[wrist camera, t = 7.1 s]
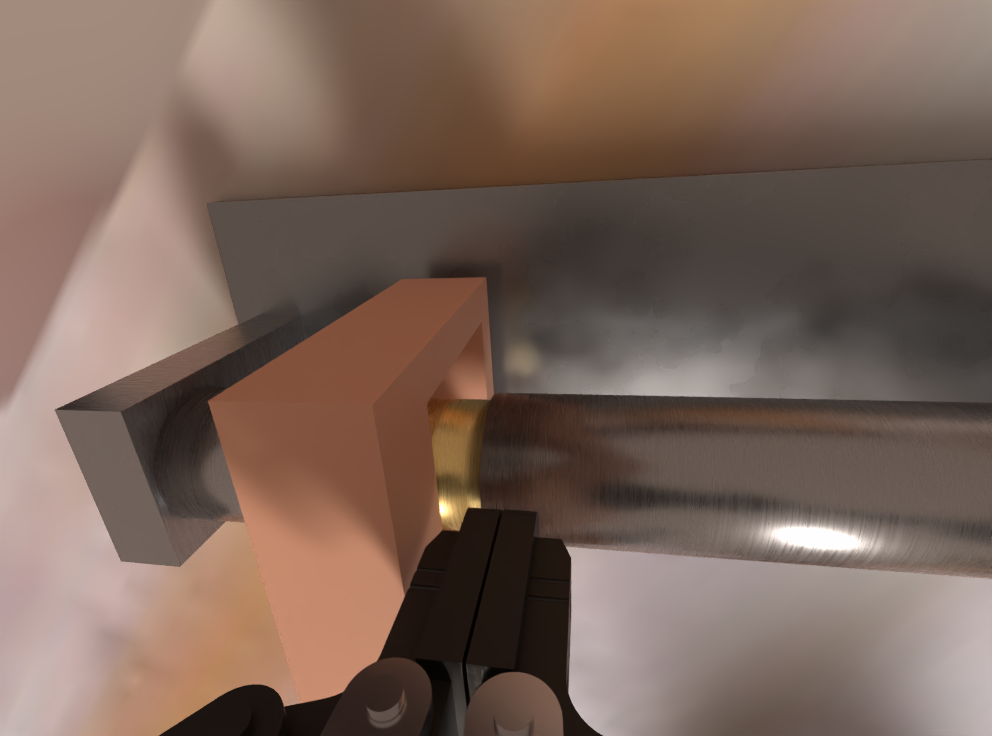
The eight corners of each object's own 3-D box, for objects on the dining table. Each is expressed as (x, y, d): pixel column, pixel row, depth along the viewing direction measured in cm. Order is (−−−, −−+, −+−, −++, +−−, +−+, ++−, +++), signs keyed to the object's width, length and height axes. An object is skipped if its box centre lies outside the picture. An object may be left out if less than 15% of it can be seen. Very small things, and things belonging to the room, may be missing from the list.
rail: (1225, 145, 14) (2195, 121, 6) (1046, 542, 19) (1403, 839, 11) (217, 201, 20) (-60, 231, 11) (292, 494, 25) (141, 663, 16)
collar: (486, 277, 17) (372, 405, 8) (499, 484, 20) (428, 742, 11) (402, 279, 17) (207, 400, 8) (428, 481, 20) (306, 723, 12)
